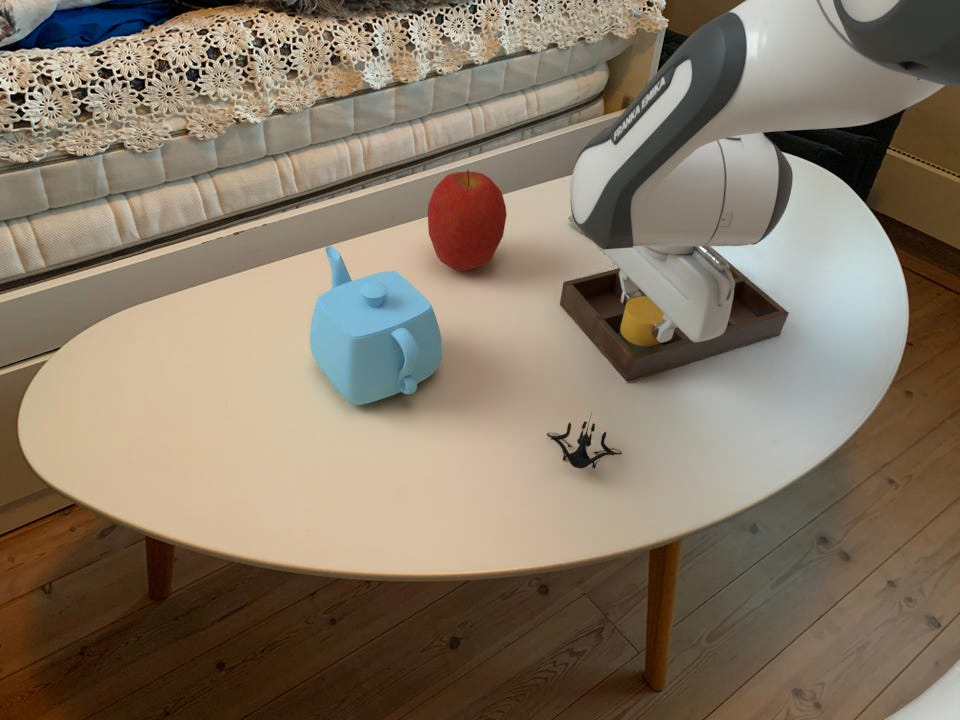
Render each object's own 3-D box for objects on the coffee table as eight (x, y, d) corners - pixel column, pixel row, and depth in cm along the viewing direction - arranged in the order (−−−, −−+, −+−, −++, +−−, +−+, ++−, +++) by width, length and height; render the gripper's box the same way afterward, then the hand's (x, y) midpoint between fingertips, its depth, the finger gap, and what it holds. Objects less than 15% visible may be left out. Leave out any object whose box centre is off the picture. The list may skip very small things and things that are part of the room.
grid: (780, 335, 96) (789, 313, 94) (627, 382, 88) (633, 359, 86) (702, 267, 106) (709, 245, 104) (559, 304, 98) (563, 281, 96)
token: (671, 340, 89) (678, 317, 87) (635, 351, 88) (642, 328, 85) (647, 314, 93) (653, 292, 90) (611, 324, 91) (617, 301, 88)
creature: (550, 428, 84) (534, 470, 77) (559, 385, 81) (543, 425, 74) (622, 447, 82) (613, 491, 75) (633, 404, 79) (625, 447, 73)
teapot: (377, 303, 96) (375, 224, 88) (461, 390, 85) (466, 308, 78) (285, 338, 90) (273, 256, 82) (362, 435, 80) (357, 351, 72)
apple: (464, 296, 98) (470, 200, 89) (409, 262, 103) (409, 167, 93) (517, 264, 104) (528, 170, 95) (463, 233, 109) (468, 141, 99)
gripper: (763, 265, 74) (724, 371, 83) (642, 166, 87) (619, 267, 97) (711, 279, 72) (676, 386, 81) (594, 175, 85) (576, 277, 94)
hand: (644, 320), depth 89 cm, fingers closed on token, 5 cm apart
